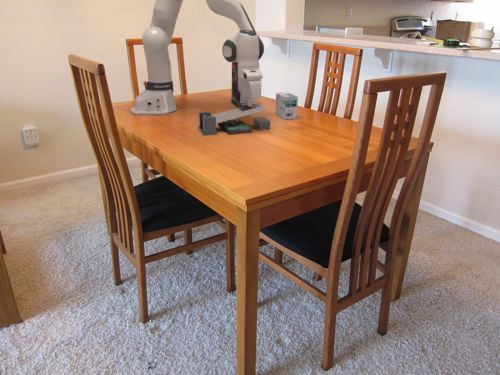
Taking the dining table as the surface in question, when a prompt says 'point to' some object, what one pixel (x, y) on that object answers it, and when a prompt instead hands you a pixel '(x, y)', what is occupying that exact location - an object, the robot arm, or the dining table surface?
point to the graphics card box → (236, 87)
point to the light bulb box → (286, 105)
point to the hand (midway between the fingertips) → (249, 106)
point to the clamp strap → (238, 112)
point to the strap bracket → (209, 123)
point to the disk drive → (234, 127)
